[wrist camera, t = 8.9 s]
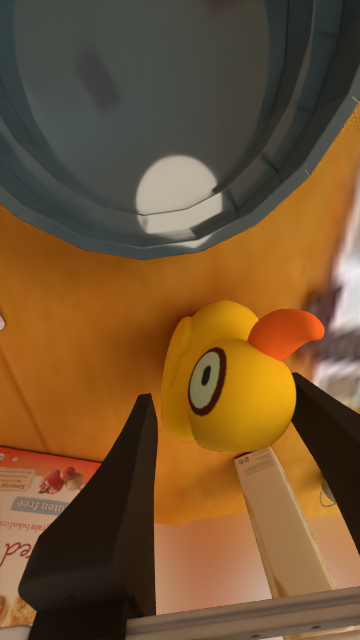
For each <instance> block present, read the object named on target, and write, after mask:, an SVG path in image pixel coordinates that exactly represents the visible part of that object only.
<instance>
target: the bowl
mask: <svg viewBox="0 0 360 640" xmlns="http://www.w3.org/2000/svg"><path fill="white" fill-rule="evenodd" d="M359 101H360V0H0V203H1V204H2V205H3V206H4V207H5V208H7V209H8V210H9V211H10V212H11V213H12V214H14V215H15V216H16V217H18V218H19V219H21V220H23V221H25V222H27V223H29V224H31V225H33V226H35V227H37V228H39V229H41V230H43V231H45V232H47V233H49V234H51V235H53V236H55V237H57V238H59V239H61V240H63V241H65V242H67V243H69V244H72V245H74V246H76V247H78V248H80V249H83V250H87V251H93V252H99V253H104V254H110V255H116V256H122V257H127V258H133V259H139V260H148V259H155V258H162V257H169V256H176V255H183V254H190V253H197V252H201V251H204V250H206V249H208V248H210V247H212V246H214V245H216V244H218V243H220V242H223V241H225V240H227V239H229V238H231V237H233V236H235V235H237V234H239V233H241V232H243V231H245V230H247V229H249V228H251V227H253V226H255V225H256V224H258V223H259V222H260V221H262V220H263V219H264V218H265V217H266V216H267V215H268V214H269V213H270V212H271V211H273V210H274V209H275V208H276V207H277V206H278V205H279V204H280V203H281V202H282V201H284V200H285V199H286V198H287V197H288V196H289V195H290V194H291V193H292V192H293V191H295V190H296V189H297V188H298V187H299V186H300V185H301V184H302V183H303V182H304V181H306V180H307V179H308V178H309V177H310V175H311V174H312V173H313V171H314V170H315V168H316V167H317V165H318V164H319V162H320V161H321V159H322V158H323V156H324V155H325V153H326V152H327V150H328V149H329V147H330V146H331V144H332V143H333V141H334V140H335V138H336V137H337V135H338V134H339V132H340V131H341V129H342V128H343V126H344V125H345V123H346V122H347V120H348V119H349V117H350V116H351V114H352V113H353V111H354V110H355V108H356V107H357V105H358V104H359Z"/></svg>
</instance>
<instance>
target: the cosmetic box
mask: <svg viewBox="0 0 360 640" xmlns="http://www.w3.org/2000/svg"><path fill="white" fill-rule="evenodd" d="M234 463H235V466H236V470H237V473H238V477H239V481H240V484H241V488H242V491H243V495H244V498H245V502H246V505H247V509H248V513H249V516H250V520H251V523H252V527H253V530H254V534H255V537H256V541H257V545H258V548H259V552H260V555H261V559H262V563H263V566H264V570H265V573H266V577H267V580H268V584H269V588H270V591H271V595H272V599H274V598H281V597H288V596H295V595H302V594H309V593H316V592H323V591H330V590H337V587H336V585H335V583H334V581H333V578H332V576H331V574H330V572H329V569H328V567H327V565H326V563H325V561H324V558H323V556H322V554H321V552H320V549H319V547H318V545H317V543H316V541H315V538H314V536H313V534H312V532H311V530H310V527H309V525H308V523H307V521H306V518H305V516H304V514H303V512H302V509H301V507H300V505H299V503H298V500H297V498H296V496H295V494H294V492H293V489H292V487H291V485H290V483H289V480H288V478H287V476H286V474H285V472H284V470H283V468H282V466H281V464H280V462H279V460H278V458H277V457H276V455H275V453H274V452H273V450H272V449H271V447H270V446H268V447H266V448H264V449H261V450H258V451H255V452H252V453H249V454H247V455H244V456H241V457H239V458H237V459H234ZM353 630H356V629H355V627H354V626H349V627H342V628H335V629H328V630H321V631H314V632H307V633H300V634H293V635H286V636H283V639H284V640H291V639H297V638H304V637H311V636H318V635H325V634H332V633H339V632H346V631H353Z"/></svg>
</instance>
